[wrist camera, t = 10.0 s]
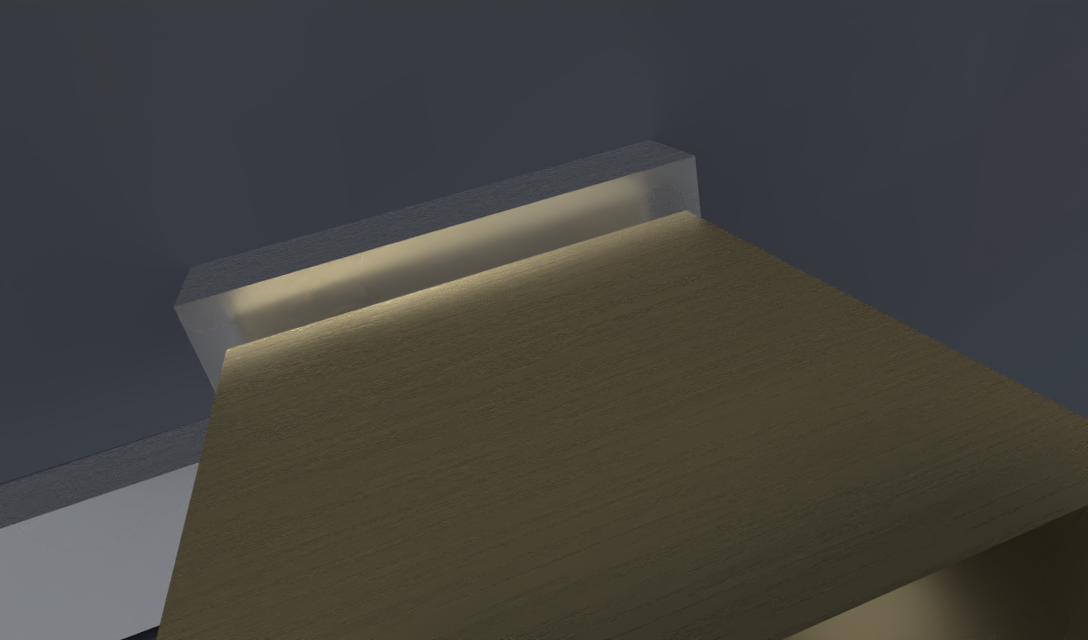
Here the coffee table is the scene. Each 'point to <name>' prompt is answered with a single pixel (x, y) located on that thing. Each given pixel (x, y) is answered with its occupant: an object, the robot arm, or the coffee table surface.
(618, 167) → the hammer
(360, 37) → the coffee table surface
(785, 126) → the coffee table surface
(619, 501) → the brushed brass cube
